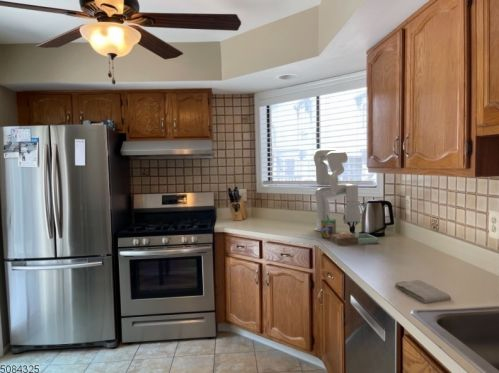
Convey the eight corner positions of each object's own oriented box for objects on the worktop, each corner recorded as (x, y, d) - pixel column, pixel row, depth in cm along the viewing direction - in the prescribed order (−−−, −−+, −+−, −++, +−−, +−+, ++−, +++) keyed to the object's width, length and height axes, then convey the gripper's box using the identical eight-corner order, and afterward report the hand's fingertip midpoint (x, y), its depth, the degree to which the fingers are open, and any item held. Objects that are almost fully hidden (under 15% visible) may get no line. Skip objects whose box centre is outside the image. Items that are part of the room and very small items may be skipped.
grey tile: (352, 231, 222) (356, 232, 222) (350, 237, 222) (353, 238, 222) (355, 232, 218) (359, 233, 218) (353, 239, 218) (356, 240, 218)
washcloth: (417, 284, 142) (417, 277, 141) (452, 301, 124) (452, 293, 124) (392, 287, 139) (392, 280, 139) (424, 305, 122) (424, 297, 121)
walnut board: (330, 240, 223) (330, 233, 223) (347, 239, 225) (347, 232, 225) (339, 245, 208) (339, 238, 208) (358, 244, 210) (358, 237, 210)
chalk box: (335, 238, 228) (335, 216, 227) (321, 237, 231) (321, 215, 230) (336, 235, 236) (336, 214, 235) (323, 234, 239) (322, 213, 238)
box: (347, 239, 225) (347, 234, 225) (366, 237, 227) (366, 233, 226) (358, 244, 210) (358, 239, 210) (378, 243, 212) (378, 238, 212)
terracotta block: (339, 236, 215) (339, 232, 215) (346, 236, 216) (346, 232, 215) (342, 237, 210) (342, 233, 210) (349, 237, 211) (349, 233, 211)
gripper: (360, 202, 224) (360, 230, 225) (338, 203, 222) (338, 232, 223) (365, 204, 216) (366, 233, 217) (343, 205, 214) (343, 234, 215)
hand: (352, 232), depth 220 cm, fingers closed
